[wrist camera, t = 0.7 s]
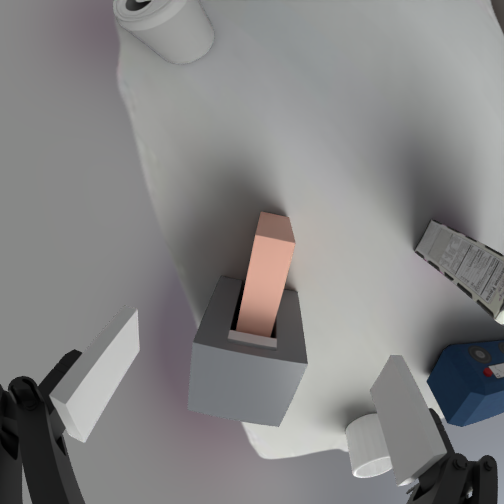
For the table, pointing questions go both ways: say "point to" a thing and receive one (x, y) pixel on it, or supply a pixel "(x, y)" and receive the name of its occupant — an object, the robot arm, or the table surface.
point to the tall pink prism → (266, 274)
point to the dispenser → (246, 361)
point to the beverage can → (168, 27)
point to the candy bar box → (466, 266)
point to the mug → (367, 447)
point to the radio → (469, 382)
